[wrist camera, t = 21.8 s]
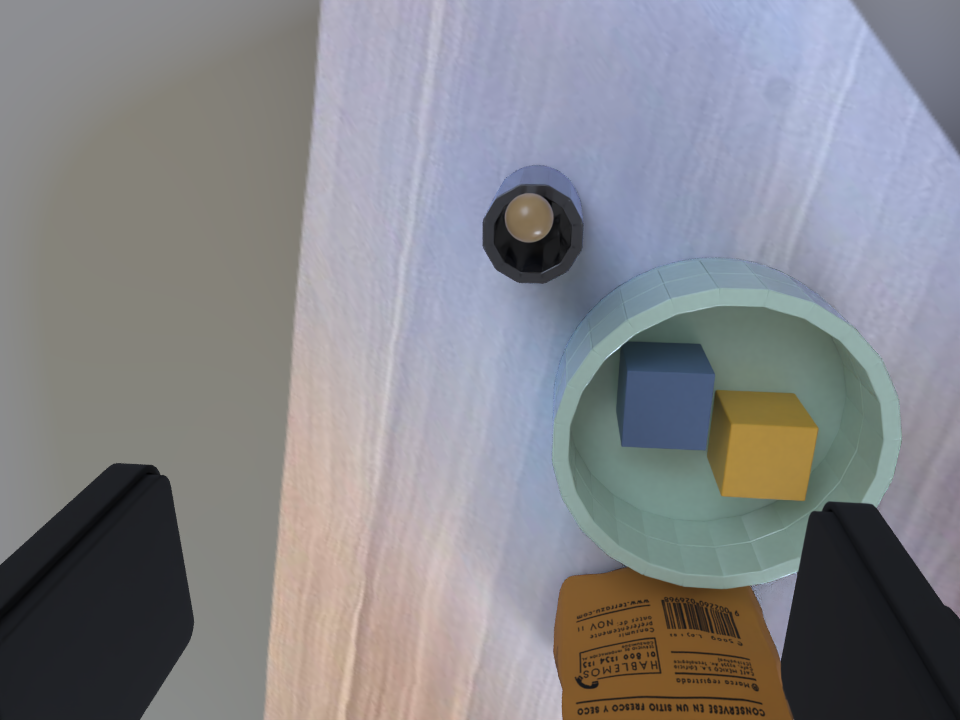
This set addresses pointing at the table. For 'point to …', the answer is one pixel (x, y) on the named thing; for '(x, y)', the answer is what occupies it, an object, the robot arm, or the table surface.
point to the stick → (529, 217)
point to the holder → (547, 253)
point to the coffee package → (664, 651)
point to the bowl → (687, 473)
